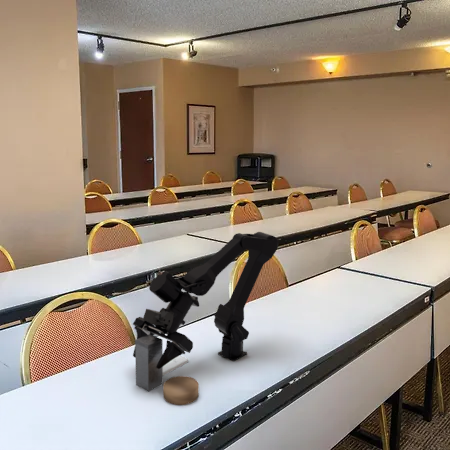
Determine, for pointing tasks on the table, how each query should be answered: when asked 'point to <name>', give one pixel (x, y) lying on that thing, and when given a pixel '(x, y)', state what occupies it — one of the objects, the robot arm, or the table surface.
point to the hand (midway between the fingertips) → (145, 362)
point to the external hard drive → (174, 364)
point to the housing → (148, 362)
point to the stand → (180, 390)
